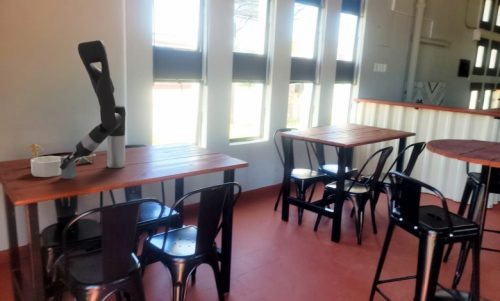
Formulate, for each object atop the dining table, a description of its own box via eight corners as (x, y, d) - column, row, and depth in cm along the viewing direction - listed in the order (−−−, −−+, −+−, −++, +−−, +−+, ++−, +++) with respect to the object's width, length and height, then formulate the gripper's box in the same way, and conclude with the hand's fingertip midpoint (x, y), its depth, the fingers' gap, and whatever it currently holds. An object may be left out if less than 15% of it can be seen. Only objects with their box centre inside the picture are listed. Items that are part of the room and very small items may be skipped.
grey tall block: (66, 175, 186) (66, 155, 184) (76, 176, 186) (75, 156, 184) (61, 178, 181) (60, 157, 179) (70, 178, 181) (69, 158, 179)
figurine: (27, 168, 196) (26, 145, 193) (25, 165, 200) (24, 142, 198) (45, 166, 201) (44, 143, 198) (43, 163, 205) (41, 141, 203)
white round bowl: (43, 168, 196) (42, 155, 194) (69, 170, 195) (68, 157, 193) (25, 175, 182) (24, 161, 181) (53, 177, 181) (52, 163, 180)
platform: (107, 164, 213) (107, 152, 212) (74, 168, 201) (73, 156, 200) (99, 159, 222) (98, 148, 221) (66, 163, 210) (65, 152, 208)
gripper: (90, 136, 186) (69, 157, 189) (74, 141, 172) (51, 163, 175) (101, 147, 187) (79, 168, 190) (86, 153, 173) (63, 175, 176)
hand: (66, 166), depth 182 cm, fingers open, 8 cm apart
